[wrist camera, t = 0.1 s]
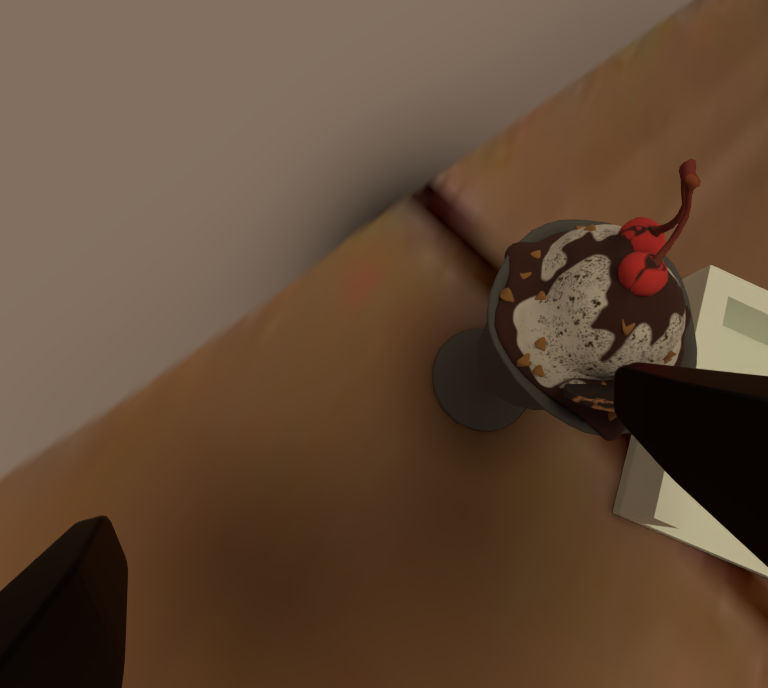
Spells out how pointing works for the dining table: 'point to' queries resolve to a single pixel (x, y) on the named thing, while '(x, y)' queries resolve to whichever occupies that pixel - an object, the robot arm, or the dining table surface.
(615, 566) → the dining table surface
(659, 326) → the sundae
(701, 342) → the end cap
